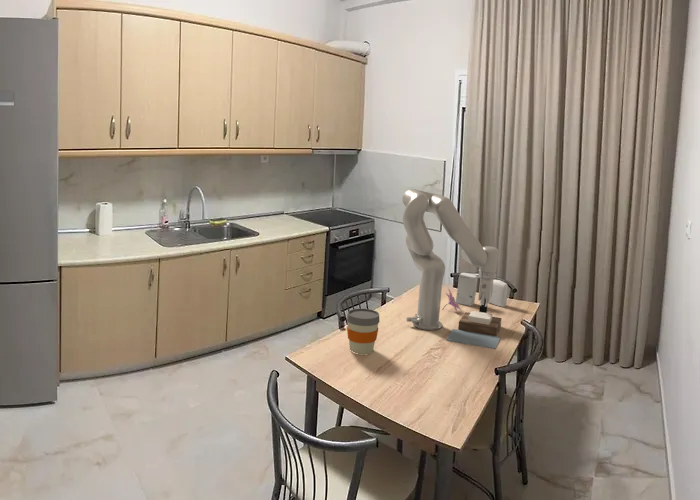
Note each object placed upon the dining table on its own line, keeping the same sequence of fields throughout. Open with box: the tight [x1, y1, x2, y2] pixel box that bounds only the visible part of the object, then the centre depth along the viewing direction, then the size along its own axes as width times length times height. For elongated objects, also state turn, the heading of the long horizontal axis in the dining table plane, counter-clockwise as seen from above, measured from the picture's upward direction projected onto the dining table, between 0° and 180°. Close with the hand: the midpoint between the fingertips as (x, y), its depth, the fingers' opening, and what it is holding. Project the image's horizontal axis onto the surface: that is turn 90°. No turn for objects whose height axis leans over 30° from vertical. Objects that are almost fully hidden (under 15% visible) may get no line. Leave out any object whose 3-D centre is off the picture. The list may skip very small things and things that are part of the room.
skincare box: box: [455, 272, 479, 307], centre depth 297 cm, size 8×6×15 cm
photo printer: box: [488, 279, 509, 308], centre depth 298 cm, size 10×4×12 cm, turn 39°
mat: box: [445, 328, 501, 350], centre depth 251 cm, size 14×20×1 cm
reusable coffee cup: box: [346, 308, 380, 355], centre depth 231 cm, size 13×13×15 cm
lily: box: [442, 287, 461, 313], centre depth 286 cm, size 12×12×10 cm
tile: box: [468, 310, 493, 325], centre depth 262 cm, size 8×9×2 cm
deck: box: [457, 311, 502, 336], centre depth 264 cm, size 14×16×4 cm
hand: (482, 314), depth 269 cm, fingers closed
